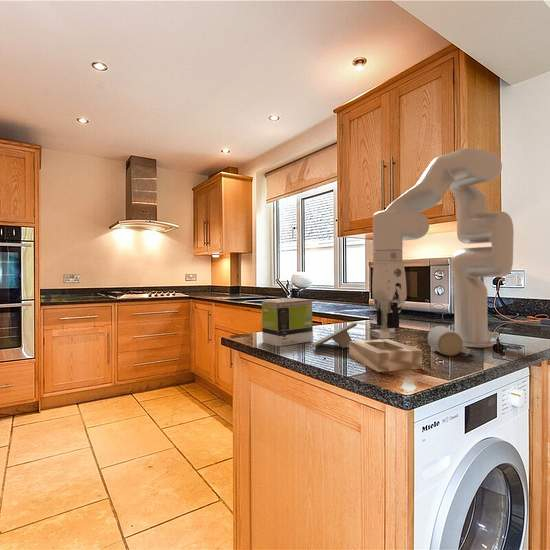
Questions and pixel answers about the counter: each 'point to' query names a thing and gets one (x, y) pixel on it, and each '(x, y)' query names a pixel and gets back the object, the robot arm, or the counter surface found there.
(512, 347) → the counter surface
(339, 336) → the beige double panel block
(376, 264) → the robot arm
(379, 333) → the wood grain block
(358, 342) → the well block
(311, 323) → the tea box
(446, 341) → the ceramic mug
